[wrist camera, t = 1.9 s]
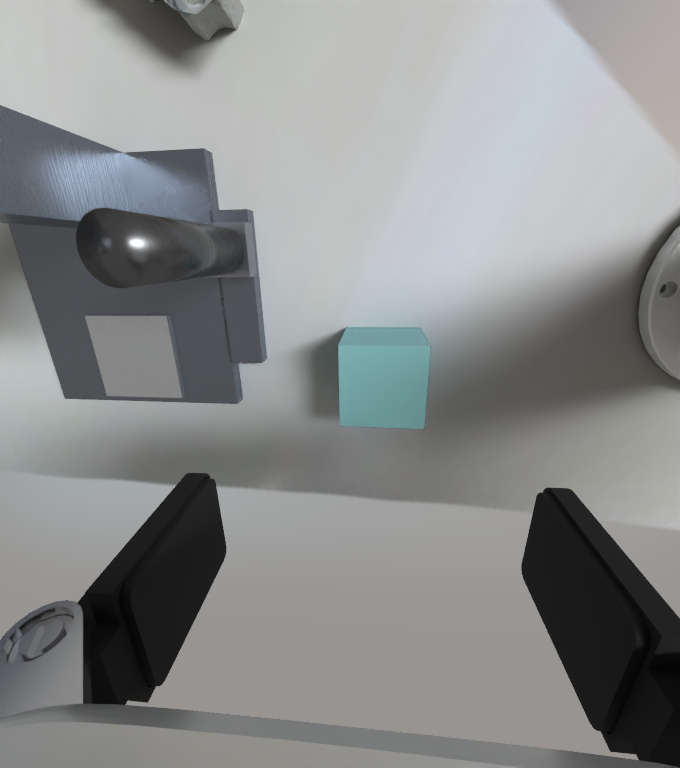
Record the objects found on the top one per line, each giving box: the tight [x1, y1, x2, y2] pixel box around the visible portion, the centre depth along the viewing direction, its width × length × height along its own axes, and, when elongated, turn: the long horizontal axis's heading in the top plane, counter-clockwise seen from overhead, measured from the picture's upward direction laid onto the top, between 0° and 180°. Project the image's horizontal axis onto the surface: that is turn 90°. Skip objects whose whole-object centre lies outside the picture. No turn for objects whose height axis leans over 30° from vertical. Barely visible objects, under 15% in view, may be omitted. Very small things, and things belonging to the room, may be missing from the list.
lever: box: [76, 208, 257, 288], centre depth 17 cm, size 3×3×10 cm
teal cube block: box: [338, 327, 431, 429], centre depth 22 cm, size 5×5×5 cm
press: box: [0, 105, 267, 404], centre depth 16 cm, size 16×16×18 cm
